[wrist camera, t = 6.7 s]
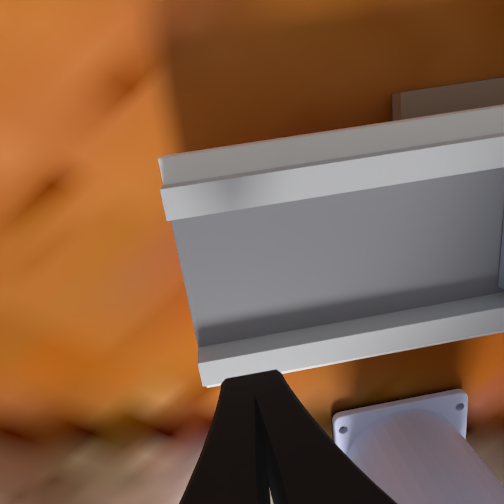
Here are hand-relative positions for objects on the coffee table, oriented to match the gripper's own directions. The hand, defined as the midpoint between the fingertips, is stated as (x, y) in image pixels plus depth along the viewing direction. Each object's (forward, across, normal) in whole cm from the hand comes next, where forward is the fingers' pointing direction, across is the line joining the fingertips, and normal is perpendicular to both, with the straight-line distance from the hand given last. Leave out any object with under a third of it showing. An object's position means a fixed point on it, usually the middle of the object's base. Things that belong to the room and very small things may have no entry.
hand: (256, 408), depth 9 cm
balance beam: (+10, -14, -1) cm, 17 cm away
